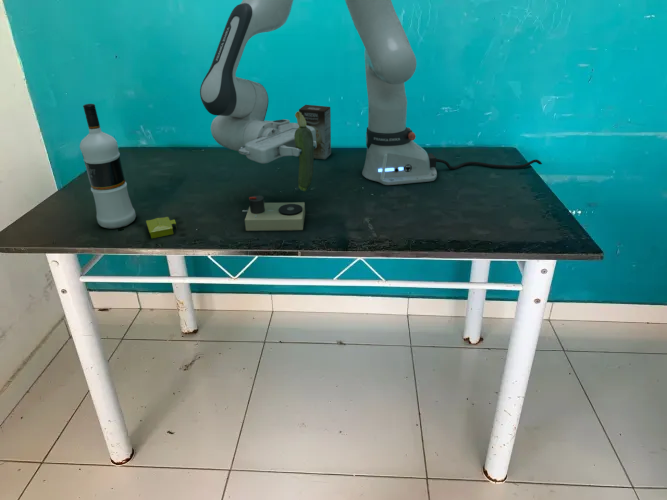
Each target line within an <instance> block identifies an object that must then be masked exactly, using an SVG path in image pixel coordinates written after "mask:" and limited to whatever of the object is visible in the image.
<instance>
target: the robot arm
mask: <svg viewBox="0 0 667 500" xmlns="http://www.w3.org/2000/svg"><path fill="white" fill-rule="evenodd" d="M344 2H345V5H346V7H347V10H348V12H349V15H350V17H351V20H352V23H353V25H354V28H355V30H356V32H357V34H358V36H359V38H360V40H361V42H362V44H363V46H364V66H365V82H366V91H367V127H366V131H365V145H366V153H365V154H366V155H365V161H364V166H363V169H362V172H361V174H362V176H363V177H364V178H366V179H367V180H370V181H374V182H378V183H380V184H381V185H384V186H394V185H404V184H417V183H426V182H427V183H428V182H434V181H435V180H436V179H437V177H438V172H437V169H436V166H437V163H440V164H441V163H442V164H444V165H445V166H446V167H447V169H449V170H458V169H461V168H463V167H465V166H469V165H471V166H472V165H473V166H483V167H487V168H497V169H498V168H499V169H522V168H526V167H529V166H530V165H532V164H535V163H536V164H538V165H543V163H542V161H541V160H539V159H532V160H530V161H528V162H527V163H524V164H514V165H513V164H512V165H508V164H493V163H488V162H480V161H466V162H461V163H460V164H458V165H457V166H452V165H451V164H450V163H449V162H448V161H446V160H444V159H441V158H437V157H436V156H435V155H434V154H433V153H432V152H431V153H429V152H427V151H426V150H425V149H424V148H423V147H422V146H421V145H419V144H418V143H416V142H415V139H416V133H415V132H413V130H412V129H411V127H407V113H408V111H407V109H408V99H407V94H406V87H405V83H406V82H408V81H409V80H411V78H412V77H413V75H414V74H415V73H416V69H417V58H416V55H415V53H414V51H413V48H412V46H411V43H410V41H409V39H408V36H407V34H406V32H405V29H404V27H403V25H402V23H401V20H400V17H398V15H397V12H396V9H395V7H394V5H393V1H392V0H344ZM293 3H294V0H242V1H241V2H240V3H239V4H237V5H236V6H234V8H233V9H232V10H231V13H230V14H229V16H228V18H227V21H226V24H225V25H224V29H223V31H222V34H221V37H220V40H219V43H218V46H217V48H216V50H215V54H214V57H213V59H212V62H211V63H210V64H211V65H210V67H209V69H208V71H207V72H206V74H205V76H204V78H203V80H202V81H201V84H200V88H199V97H200V100H201V103H202V105H203V107H204V109H205V110H206V111H207V112H208V113H209V114H211V115H212V116H216V117H214V118H213V120H212V122H211V125H210V132H211V135H212V137H213V140H214V141H215V142H216V143H217V144H218V145H219V146H222V147H223V148H225V149H228V150H231V151H235V152H238V153H239V154H240V155H244V156H246V158H247V159H248V160H250V161H253V162H255V163H259V164H268V163H271V162H273V161H275V160H278V159H281V158H282V157H292V156H294V157H299V155H301V154H302V148H300V147H296V144H295V139H294V135H295V131H296V130H297V129H298V128H299V125H298V123H297V122H290V121H291V120H290V119H286V118H285V119H284V118H283V119H276V120H266V116H267V113H268V109H269V94H268V92H267V90H266V87H264V85H263V84H261V83H259V82H256V81H253V80H250V79H246V78H242V77H238V76H236V73H237V70H238V67H239V65H240V62H241V59H242V56H243V53H244V51H245V48H246V46H247V44H248V42H249V40H250V39H251V38H253V37H254V36H256V35H258V34H262V33H269V32H273V31H276V30H278V29H280V28H281V27H283V26H284V25H285V24H286V23H287V21H288V19H289V17H290V14H291V12H292V7H293ZM306 127H307V128H309V129H310V130H311V132H312V135H313V147H314V149H315V148H316V147H317V143H316V130H315V129H314V128H313V127H311V126H306Z"/></svg>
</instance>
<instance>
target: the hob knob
mask: <svg viewBox="0 0 667 500" xmlns="http://www.w3.org/2000/svg"><path fill="white" fill-rule="evenodd" d="M248 201H249V207H250V211H251V213H254V214H260V213H263V212H264V211H265V206H264V203H265V198H264V196H262V195H253V196H248Z"/></svg>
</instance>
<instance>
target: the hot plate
mask: <svg viewBox="0 0 667 500" xmlns="http://www.w3.org/2000/svg"><path fill="white" fill-rule="evenodd" d="M286 204H297V205H300V206H302V208H303V211H302V212H301V213H300V214H297V215H292V216H287V215H282V214H280V213H279V208H280V207H281V206H283V205H286ZM264 206H265V211H264V212H263V213H260V214H254V213H251V211H250V206H249V207H248V209H246V210H245V209H243V210H241V211H242V212H247V213H246V216H245V218H244V226H245V231H247V232H251V231H252V232H255V231H257V232H259V231H261V232H262V231H264V232H265V231H303V230H304V223H305V217H306V204H305V202H304V201H301V202H299V201H297V202H264Z"/></svg>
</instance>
